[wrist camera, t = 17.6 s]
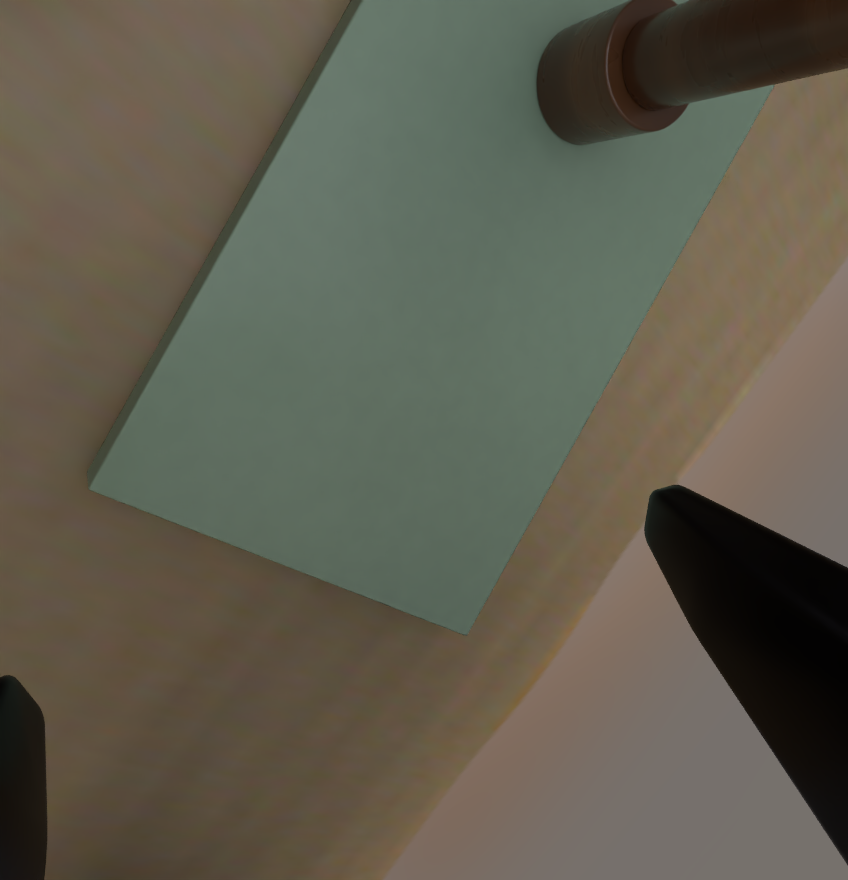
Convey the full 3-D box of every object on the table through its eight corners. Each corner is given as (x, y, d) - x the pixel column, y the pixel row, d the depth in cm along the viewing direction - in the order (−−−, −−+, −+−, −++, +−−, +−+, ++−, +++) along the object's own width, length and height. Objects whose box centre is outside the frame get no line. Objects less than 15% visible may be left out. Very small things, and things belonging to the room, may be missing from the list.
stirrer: (558, 164, 21) (1133, 73, 10) (519, 53, 19) (1139, -205, 8) (635, 115, 22) (1248, -21, 10) (602, 6, 20) (1274, -290, 9)
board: (446, 616, 25) (467, 636, 24) (86, 472, 18) (87, 489, 17) (744, 83, 25) (780, 75, 24) (490, -249, 19) (522, -286, 17)
